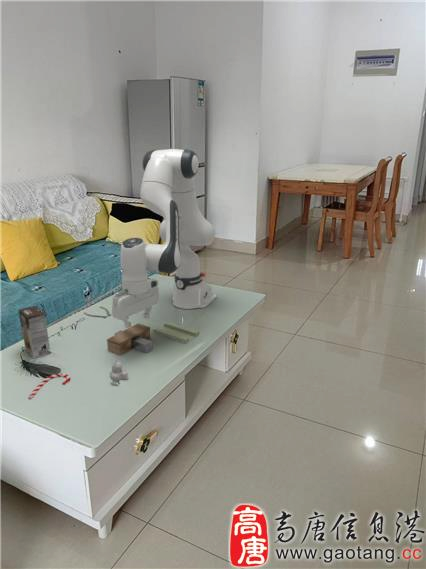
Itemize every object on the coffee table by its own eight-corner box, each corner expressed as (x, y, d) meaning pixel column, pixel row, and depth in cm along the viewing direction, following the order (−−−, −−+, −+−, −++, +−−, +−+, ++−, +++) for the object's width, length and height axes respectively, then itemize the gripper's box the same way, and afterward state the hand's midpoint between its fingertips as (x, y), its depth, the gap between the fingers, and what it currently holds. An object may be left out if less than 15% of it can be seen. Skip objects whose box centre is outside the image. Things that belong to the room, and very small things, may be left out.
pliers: (97, 305, 198) (131, 314, 189) (97, 307, 199) (132, 315, 189) (81, 313, 190) (116, 322, 181) (81, 314, 191) (117, 324, 181)
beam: (139, 337, 169) (138, 323, 167) (150, 341, 166) (149, 327, 164) (108, 354, 157) (106, 339, 155) (120, 358, 154) (118, 343, 152)
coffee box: (24, 349, 160) (17, 309, 155) (42, 344, 164) (36, 304, 159) (33, 359, 154) (26, 317, 148) (51, 353, 158) (45, 312, 152)
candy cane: (20, 394, 132) (56, 370, 145) (21, 398, 133) (56, 373, 146) (40, 400, 129) (74, 375, 142) (40, 404, 130) (75, 379, 143)
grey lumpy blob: (116, 374, 144) (114, 353, 142) (133, 378, 142) (131, 357, 139) (106, 382, 140) (103, 360, 137) (123, 387, 137) (121, 365, 134)
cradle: (167, 328, 177) (167, 321, 176) (199, 338, 168) (199, 331, 167) (153, 336, 170) (153, 329, 169) (185, 347, 162) (185, 340, 161)
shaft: (121, 338, 166) (120, 330, 164) (152, 349, 157) (152, 341, 156) (115, 341, 163) (114, 333, 162) (146, 353, 154) (146, 345, 153)
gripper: (119, 296, 140) (122, 335, 145) (161, 279, 156) (162, 315, 161) (106, 292, 144) (109, 330, 148) (148, 276, 159) (150, 311, 164)
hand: (137, 322), depth 155 cm, fingers open, 8 cm apart
